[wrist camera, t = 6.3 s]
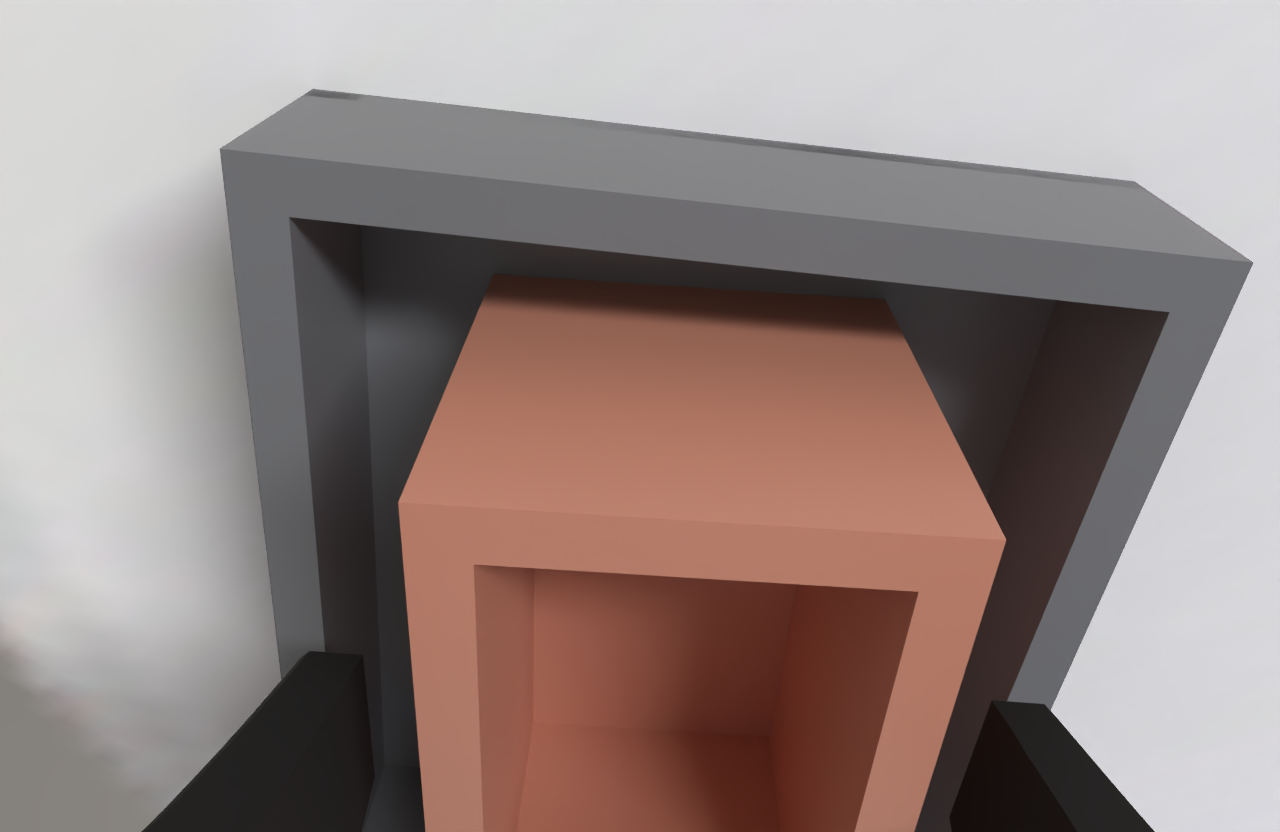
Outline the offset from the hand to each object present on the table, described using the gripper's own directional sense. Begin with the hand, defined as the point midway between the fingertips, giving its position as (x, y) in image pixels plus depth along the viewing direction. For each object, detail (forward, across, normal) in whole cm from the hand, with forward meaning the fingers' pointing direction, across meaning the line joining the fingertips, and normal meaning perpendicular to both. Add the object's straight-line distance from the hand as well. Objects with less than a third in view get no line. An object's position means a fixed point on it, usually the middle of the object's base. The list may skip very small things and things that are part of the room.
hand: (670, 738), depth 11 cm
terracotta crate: (+4, 0, 0) cm, 4 cm away
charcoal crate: (+4, 0, 0) cm, 4 cm away
